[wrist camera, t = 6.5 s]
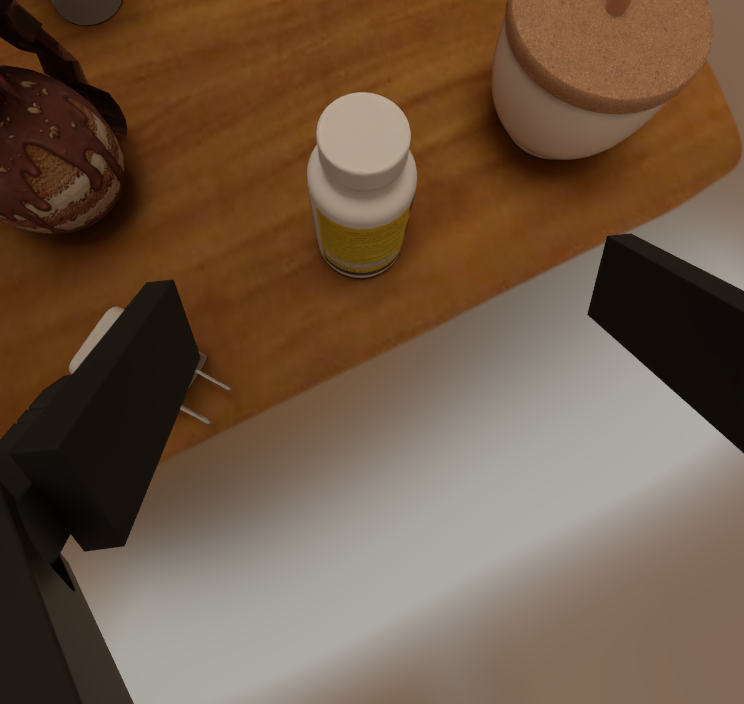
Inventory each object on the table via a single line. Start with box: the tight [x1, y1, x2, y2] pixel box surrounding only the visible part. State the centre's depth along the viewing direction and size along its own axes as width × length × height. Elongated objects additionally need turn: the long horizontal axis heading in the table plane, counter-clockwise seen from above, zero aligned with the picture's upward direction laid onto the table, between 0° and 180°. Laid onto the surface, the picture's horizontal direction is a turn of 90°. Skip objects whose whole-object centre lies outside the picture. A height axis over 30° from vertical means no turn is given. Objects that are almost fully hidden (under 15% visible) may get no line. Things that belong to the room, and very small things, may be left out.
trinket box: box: [491, 0, 713, 160], centre depth 25 cm, size 11×11×9 cm
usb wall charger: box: [69, 307, 232, 424], centre depth 23 cm, size 4×7×4 cm, turn 61°
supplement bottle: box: [307, 92, 417, 278], centre depth 22 cm, size 5×5×10 cm
